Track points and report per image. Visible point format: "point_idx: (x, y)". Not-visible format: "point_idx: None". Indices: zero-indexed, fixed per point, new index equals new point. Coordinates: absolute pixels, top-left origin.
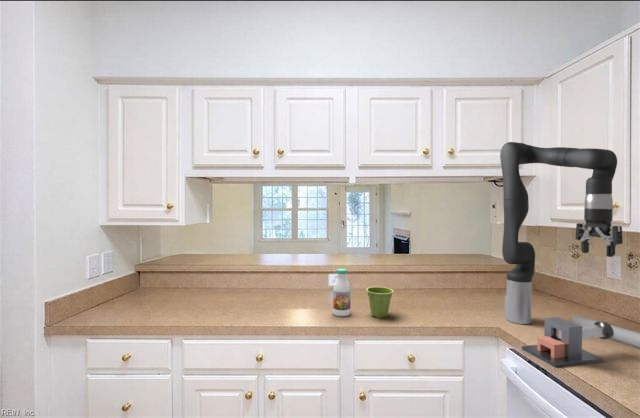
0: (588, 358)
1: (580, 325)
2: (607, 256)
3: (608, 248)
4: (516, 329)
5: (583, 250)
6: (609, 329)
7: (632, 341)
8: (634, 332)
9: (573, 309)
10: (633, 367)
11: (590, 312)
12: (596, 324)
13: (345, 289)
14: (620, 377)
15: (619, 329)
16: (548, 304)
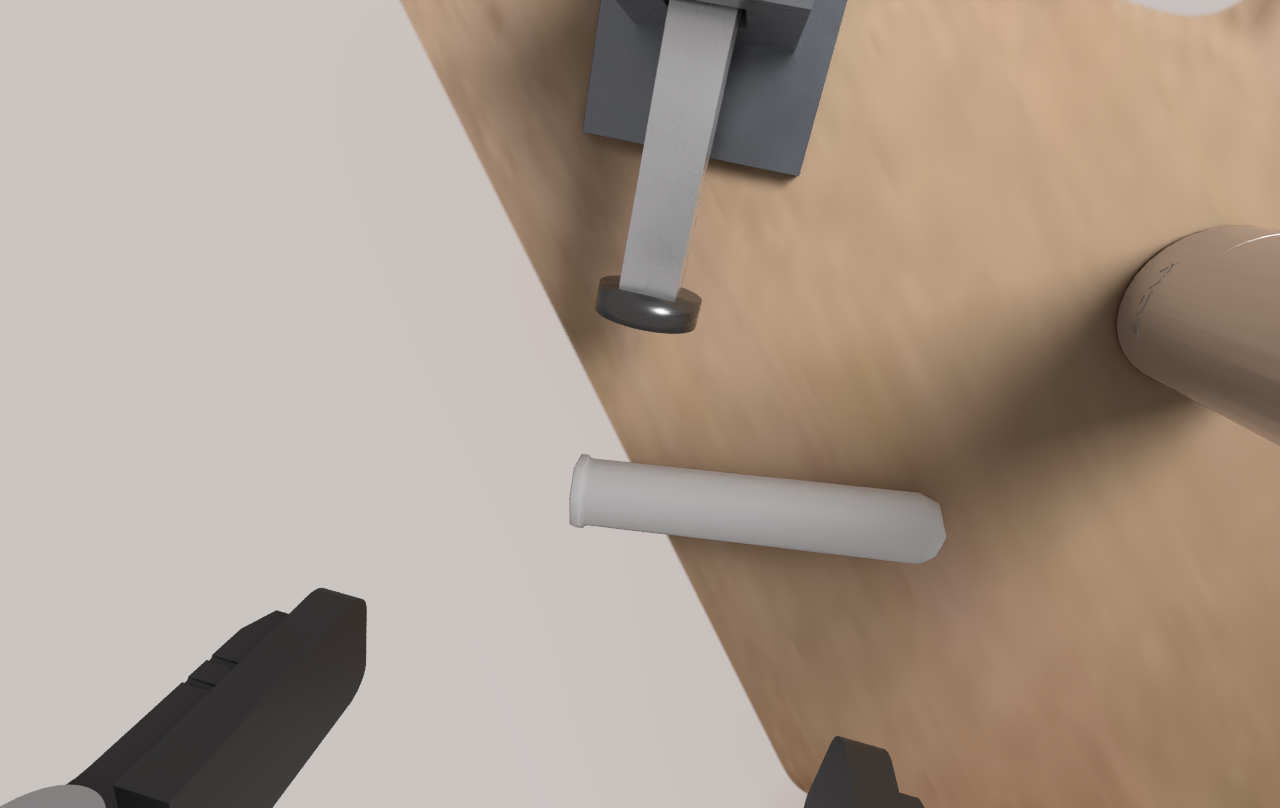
0: (612, 48)
1: (876, 491)
2: (358, 601)
3: (190, 718)
4: (1128, 122)
5: (856, 774)
6: (600, 286)
7: (627, 465)
8: (630, 516)
9: (1058, 775)
10: (505, 205)
11: (976, 786)
12: (675, 296)
13: None
14: (458, 14)
15: (688, 507)
16: (1207, 767)
